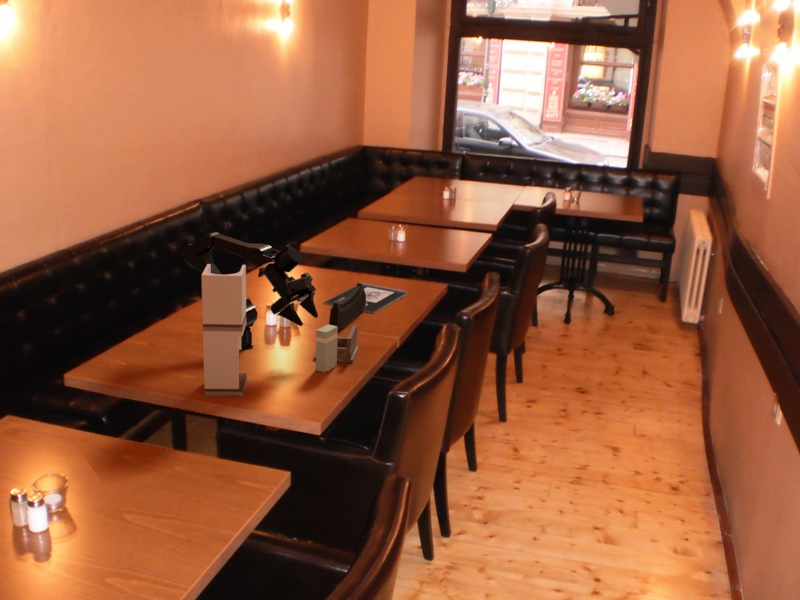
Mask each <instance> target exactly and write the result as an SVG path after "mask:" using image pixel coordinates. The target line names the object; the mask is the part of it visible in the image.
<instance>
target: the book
mask: <svg viewBox="0 0 800 600" xmlns="http://www.w3.org/2000/svg"><path fill="white" fill-rule="evenodd" d="M338 331H339V330H338V327H337V326H333V325H329V323H328V324H326V325H324V326H322V327H320V328H317V329H316V331H315V335H316V336H315V353H316V360H315V371H316V370H317V372H320V371H321V373H325V372H326V373H328V372H329V371H331V370H333V369H335V368H336V367H337V366H338V365H337V364H338V362H337V337H339V335H338V334H339V333H338ZM335 366H336V367H335ZM332 368H333V369H332ZM327 371H328V372H327ZM326 373H325V374H326Z"/></svg>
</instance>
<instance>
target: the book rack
mask: <svg viewBox="0 0 800 600" xmlns="http://www.w3.org/2000/svg"><path fill="white" fill-rule="evenodd" d="M357 340H358V325H355V324H353V326H352V328H351V330H350V331H349V334H348V336H347V337H343V336H337V361H338V362H337V363H345V364H346V362H347V364H354V361H355V359H356V357H357V354H358V351H359V349H360V345H358V344H357V343H358V342H357ZM355 356H356V357H355ZM313 359H314V360H313V361H316V360H315V359H316V352H315V354H314V356H313Z"/></svg>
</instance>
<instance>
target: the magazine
mask: <svg viewBox="0 0 800 600" xmlns="http://www.w3.org/2000/svg"><path fill="white" fill-rule="evenodd" d="M361 283H362V282H361ZM361 283H360V282H357V283H356V285H355V286H356V287H355V286H354V287H355V289H354V290H353V291H352V292H351V293H350V294H349V295H348V296H347V297H346V298H345V299H343V300H342V301H340V302H338V303H333V306H331V308H330V310H329V311H330V313H329V318H328V319H329V320H328V321H329V322H328V324H329V325H333V326H337V327H338V331H339V330H341V329H344V327H347V326H348V325H349V324H350V322H351V323H352V322H353V321H354V320H355V319H356V317H358V315H360V313H361V312H362V311H361V310H362V309H363V307H364V306H365V304H366V293H365V290H364V288H363V287H362V284H361Z"/></svg>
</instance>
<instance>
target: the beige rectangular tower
mask: <svg viewBox="0 0 800 600" xmlns="http://www.w3.org/2000/svg"><path fill="white" fill-rule="evenodd" d="M246 299H247V265H246V264H242V265H241V268H240V270H239V271H238V272H236V273H229V274H228V273H227V274H222V275H219V274H212V273H211V264H207V266H206V268H205V270H204V271H203V273H201V308H202V337H203V338H202V344H203V345H202V346H203V347H202V348H203V381H204V382H203V384H204V385H203V387H204V391H203V392H204V396H219V397H220V396H222V397H223V396H225V397H227V396H231V397H233V396H234V395H235V396H236V397H243V396H244V394H243V393H245V390H244V389H246V385H247V381H248V376H247V375H248V374H247V373H240V363H239V362H240V360H239V359H240V355H239V353H240V352H241V351H242V350H241V336H243V332H244V329H245V326H246ZM235 396H234V397H235Z"/></svg>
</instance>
